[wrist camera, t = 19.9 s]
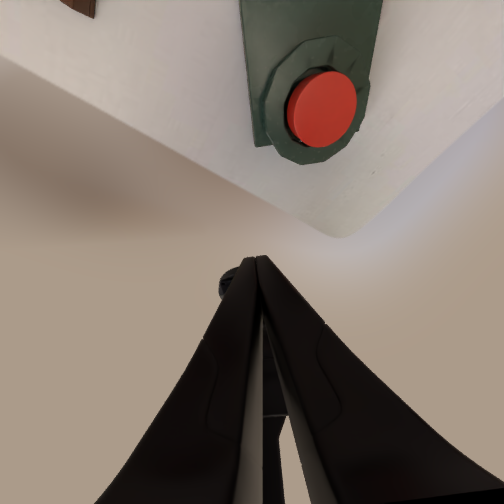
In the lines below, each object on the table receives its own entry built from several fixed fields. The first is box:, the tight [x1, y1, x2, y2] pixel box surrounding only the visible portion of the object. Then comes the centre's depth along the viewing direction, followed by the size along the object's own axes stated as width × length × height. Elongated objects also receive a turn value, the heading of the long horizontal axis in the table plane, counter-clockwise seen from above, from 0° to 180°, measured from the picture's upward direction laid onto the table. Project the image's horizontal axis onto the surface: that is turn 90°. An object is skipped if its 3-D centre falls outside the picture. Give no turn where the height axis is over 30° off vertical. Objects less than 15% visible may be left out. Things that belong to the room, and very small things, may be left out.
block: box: [239, 0, 383, 165], centre depth 12 cm, size 11×8×3 cm
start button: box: [287, 71, 357, 147], centre depth 12 cm, size 4×4×2 cm
